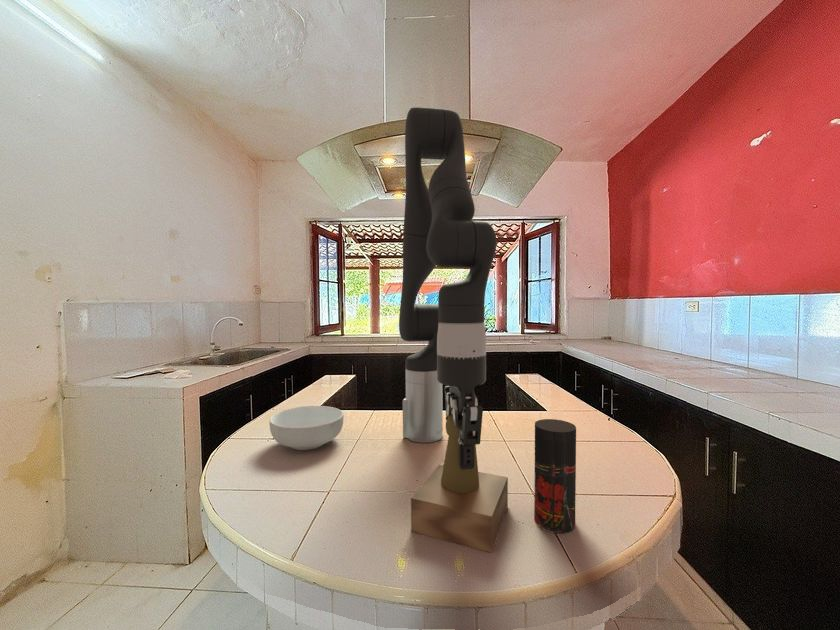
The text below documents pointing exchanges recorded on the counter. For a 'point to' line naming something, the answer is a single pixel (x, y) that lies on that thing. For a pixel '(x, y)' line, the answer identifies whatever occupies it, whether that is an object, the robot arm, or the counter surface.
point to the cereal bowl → (306, 426)
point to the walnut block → (461, 511)
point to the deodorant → (555, 475)
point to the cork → (457, 465)
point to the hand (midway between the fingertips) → (461, 459)
